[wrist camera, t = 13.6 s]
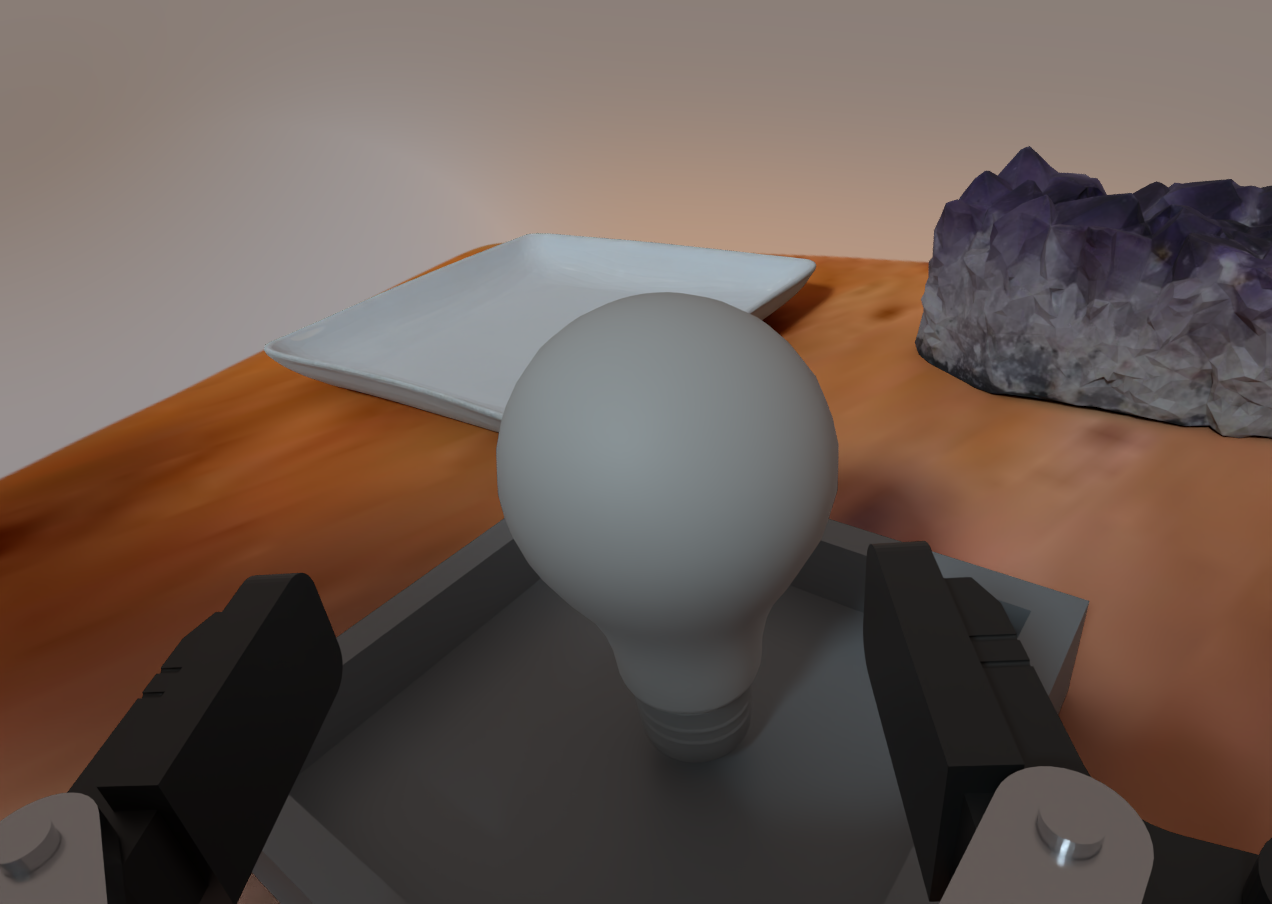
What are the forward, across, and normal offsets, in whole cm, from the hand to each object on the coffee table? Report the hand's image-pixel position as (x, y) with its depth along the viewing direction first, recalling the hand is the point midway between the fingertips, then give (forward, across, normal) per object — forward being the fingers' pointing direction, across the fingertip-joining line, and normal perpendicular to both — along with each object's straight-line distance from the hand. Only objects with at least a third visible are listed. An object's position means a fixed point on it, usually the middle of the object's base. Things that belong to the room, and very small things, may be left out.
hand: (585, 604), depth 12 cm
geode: (+22, -21, +9) cm, 32 cm away
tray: (+4, 0, +9) cm, 10 cm away
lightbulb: (+4, -1, +8) cm, 9 cm away
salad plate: (+30, +6, +10) cm, 33 cm away
